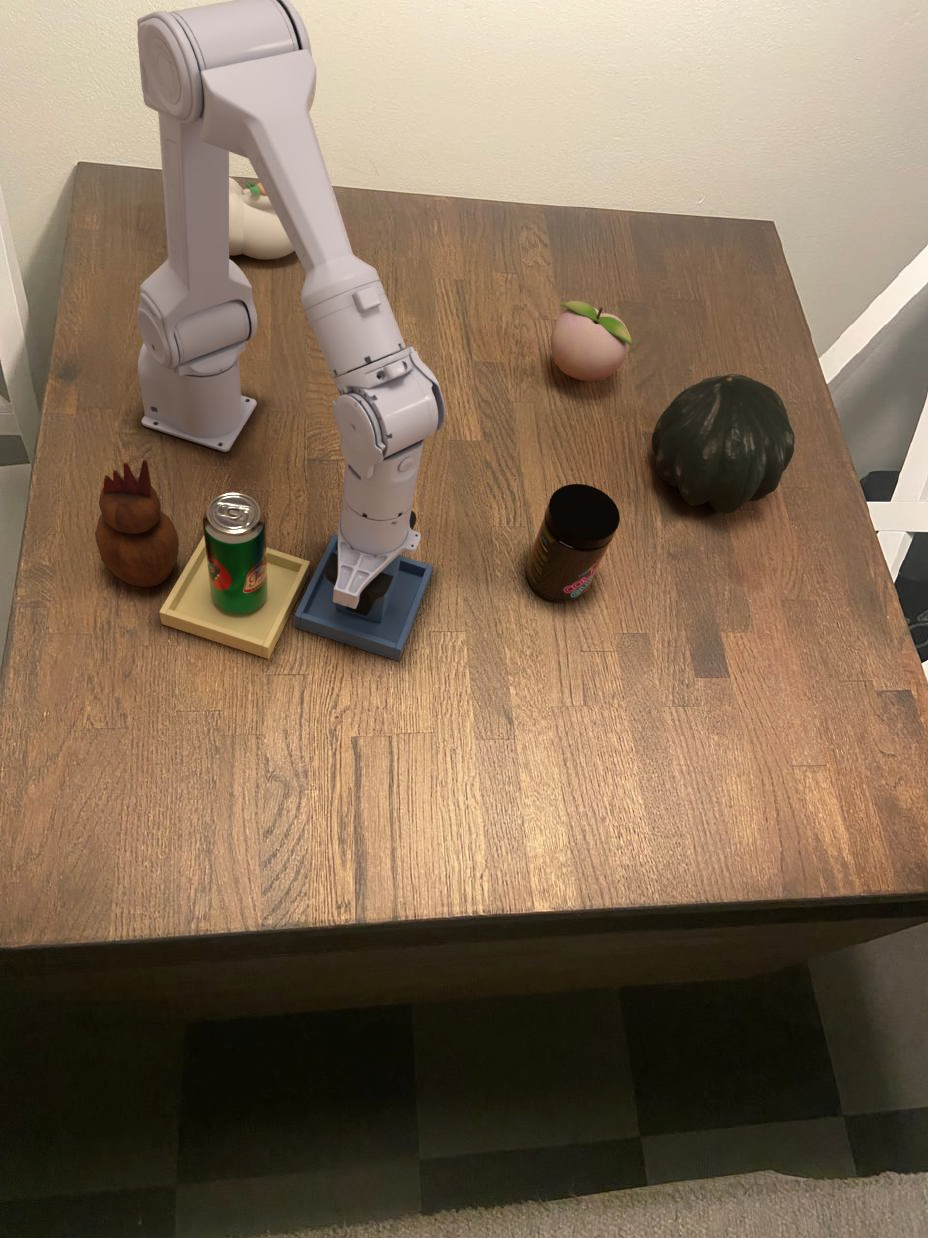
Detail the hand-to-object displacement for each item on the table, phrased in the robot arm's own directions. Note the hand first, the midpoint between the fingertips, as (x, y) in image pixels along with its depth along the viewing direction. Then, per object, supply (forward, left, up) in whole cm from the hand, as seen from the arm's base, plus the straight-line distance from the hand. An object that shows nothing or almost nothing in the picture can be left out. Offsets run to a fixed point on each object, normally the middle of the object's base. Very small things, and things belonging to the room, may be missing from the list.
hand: (366, 589), depth 85 cm
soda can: (-11, -4, -2) cm, 12 cm away
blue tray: (0, 0, -2) cm, 2 cm away
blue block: (0, 0, -1) cm, 1 cm away
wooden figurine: (-20, -4, -2) cm, 21 cm away
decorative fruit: (+13, +40, -2) cm, 42 cm away
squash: (+30, +30, -2) cm, 42 cm away
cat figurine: (-31, +44, -2) cm, 54 cm away
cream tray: (-11, -4, -2) cm, 12 cm away
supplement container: (+17, +10, -2) cm, 20 cm away
